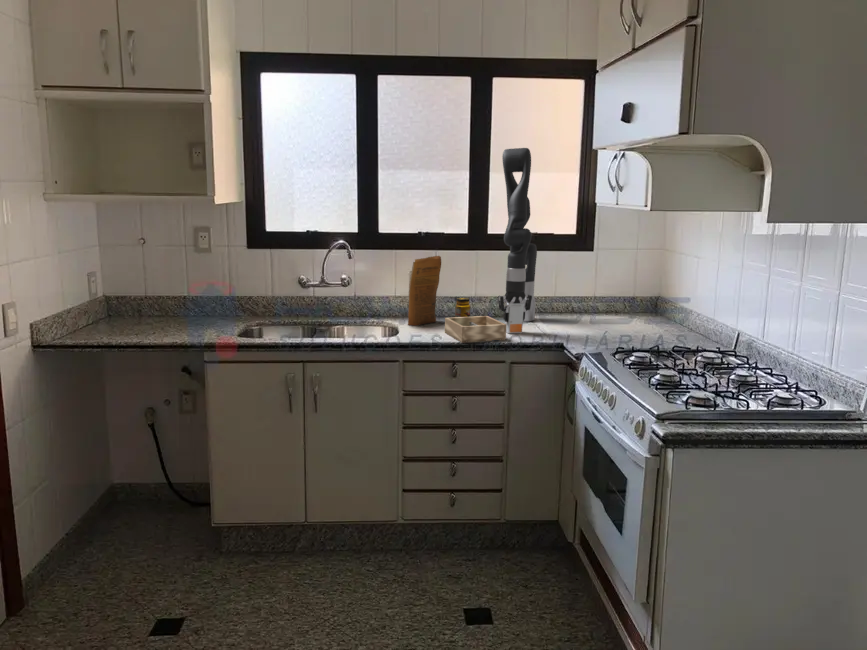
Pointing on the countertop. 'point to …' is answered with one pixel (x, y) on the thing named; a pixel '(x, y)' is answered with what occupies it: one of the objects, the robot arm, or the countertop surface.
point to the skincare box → (515, 318)
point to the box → (475, 329)
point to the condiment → (462, 307)
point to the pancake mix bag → (423, 290)
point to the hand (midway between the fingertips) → (514, 321)
